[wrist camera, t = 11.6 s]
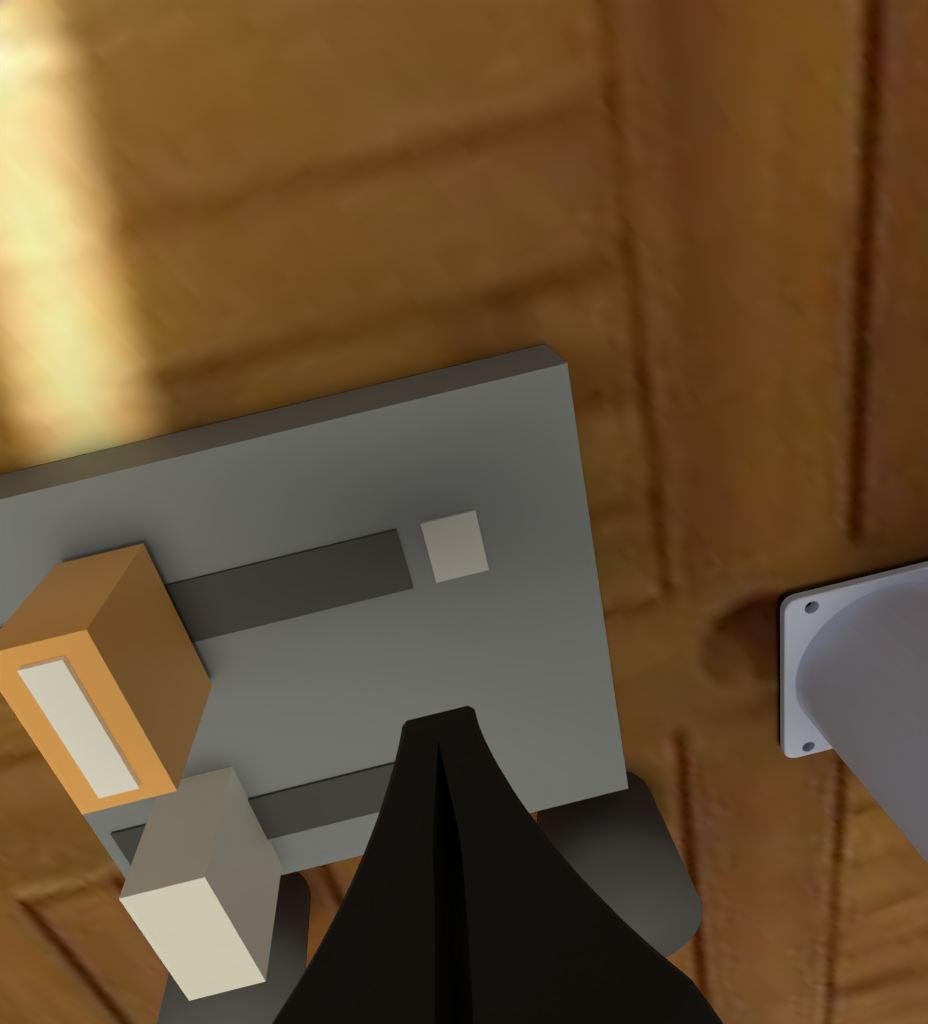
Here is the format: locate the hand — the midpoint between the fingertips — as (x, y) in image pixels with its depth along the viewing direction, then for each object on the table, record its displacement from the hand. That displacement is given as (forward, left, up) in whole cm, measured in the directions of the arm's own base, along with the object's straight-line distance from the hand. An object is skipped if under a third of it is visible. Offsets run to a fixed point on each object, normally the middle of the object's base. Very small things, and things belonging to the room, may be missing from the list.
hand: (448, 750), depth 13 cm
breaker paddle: (+8, 0, -7) cm, 11 cm away
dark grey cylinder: (-4, +15, -10) cm, 19 cm away
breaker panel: (+4, +3, -10) cm, 11 cm away
